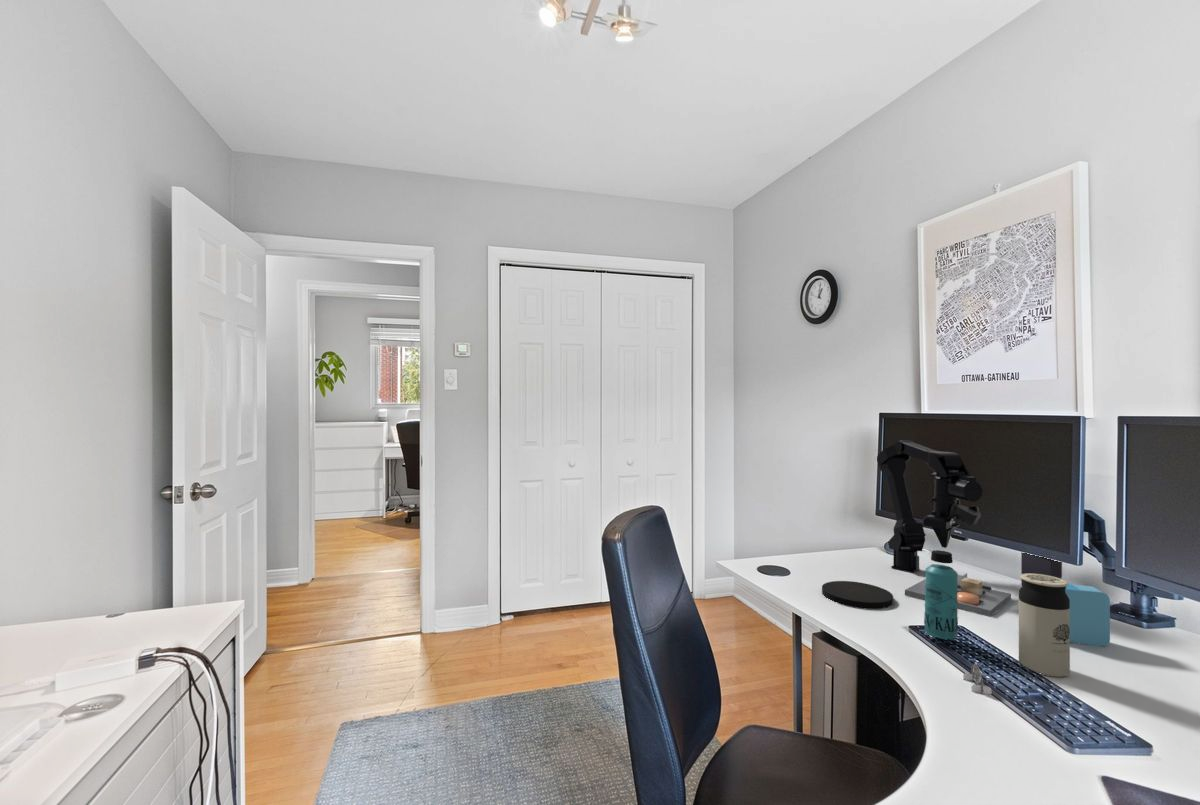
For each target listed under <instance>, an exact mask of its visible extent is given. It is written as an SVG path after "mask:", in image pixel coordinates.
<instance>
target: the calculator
mask: <svg viewBox="0 0 1200 805" xmlns="http://www.w3.org/2000/svg"><path fill="white" fill-rule="evenodd" d="M1020 552H1021V551H1020ZM1020 554H1021V558H1020V559H1021V561H1020V562H1021V564H1020V565H1021V574H1020V575H1022V574H1042V575H1048V576H1052V577H1056V578H1060V579H1062V578H1063V561H1062V562H1058V561H1054V560H1051V559H1047V558H1044V557H1039V556H1035V555H1030V554H1027V553H1022V552H1021V553H1020ZM1020 579H1021V578H1020ZM1022 585H1023V583H1022V579H1021V586H1022Z"/></svg>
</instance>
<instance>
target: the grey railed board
mask: <svg viewBox="0 0 1200 805" xmlns="http://www.w3.org/2000/svg"><path fill="white" fill-rule="evenodd" d="M925 585H926V578H925V579H923V580H921V581H919V582H916V583H915V584H913V585H912V586H910V587H908V588H906V589H904V596H905V597H909V598H910V597H911V598H914V599H917V600H922V601H924V600H925V590H924V587H925ZM957 592H963V591H961V586H960V585H957ZM966 593H968V592H966ZM975 595H976V594H975ZM977 596H979V605H978V606H974V605H970V604H966V603H962V602H958V609H959V610H962V611H966V612H971V613H974V614H978V615H981V616H982V615H983V616H987V617H992V616H993V615H994V614H995V613H996V612H998V611H999V609H1001V608H1003V607H1004V606H1005V605H1006V604H1007V603H1009V601H1010V600H1012V593H1010V592H1007V591H1006V592H1005V591H1002V590H996V589H992V587H991V586H989V585H985V584H984V585H983V584H982V595H977Z"/></svg>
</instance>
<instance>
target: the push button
mask: <svg viewBox="0 0 1200 805" xmlns="http://www.w3.org/2000/svg"><path fill="white" fill-rule="evenodd" d="M957 601H958V602H962V603H966V604H970V605H974V606H978V605H979V596H977V595H975V594H972V593H966V592H957Z"/></svg>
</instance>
